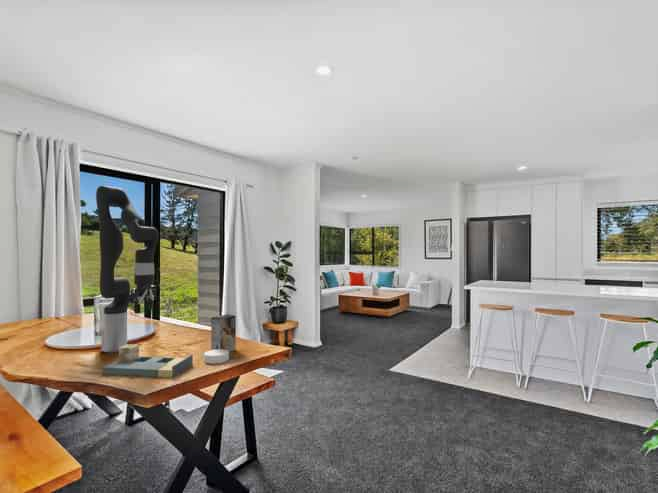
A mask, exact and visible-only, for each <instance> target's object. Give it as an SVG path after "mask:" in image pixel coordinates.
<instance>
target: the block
mask: <svg viewBox="0 0 658 493" xmlns="http://www.w3.org/2000/svg"><path fill="white" fill-rule="evenodd" d="M139 356H140V345H139V344H130V343H129V344H128V343H127V345H125V346H122V347H120V348H119V352H118V360H119V361H132V360H134V359H136V358H138V357H139Z"/></svg>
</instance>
